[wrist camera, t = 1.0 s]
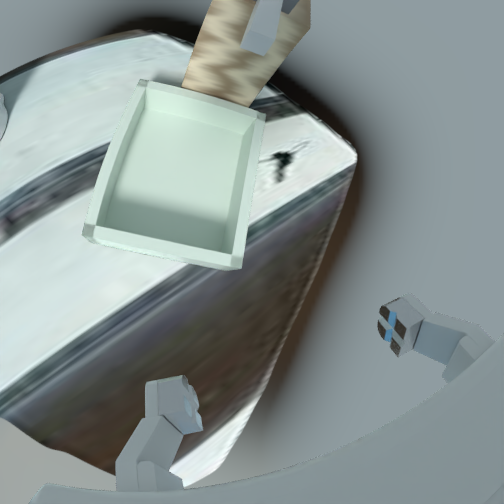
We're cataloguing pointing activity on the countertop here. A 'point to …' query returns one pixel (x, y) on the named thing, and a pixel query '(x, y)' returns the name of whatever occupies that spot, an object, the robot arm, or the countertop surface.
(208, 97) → the bin
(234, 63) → the stand
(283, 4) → the gray mallet
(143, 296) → the countertop surface
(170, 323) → the countertop surface
